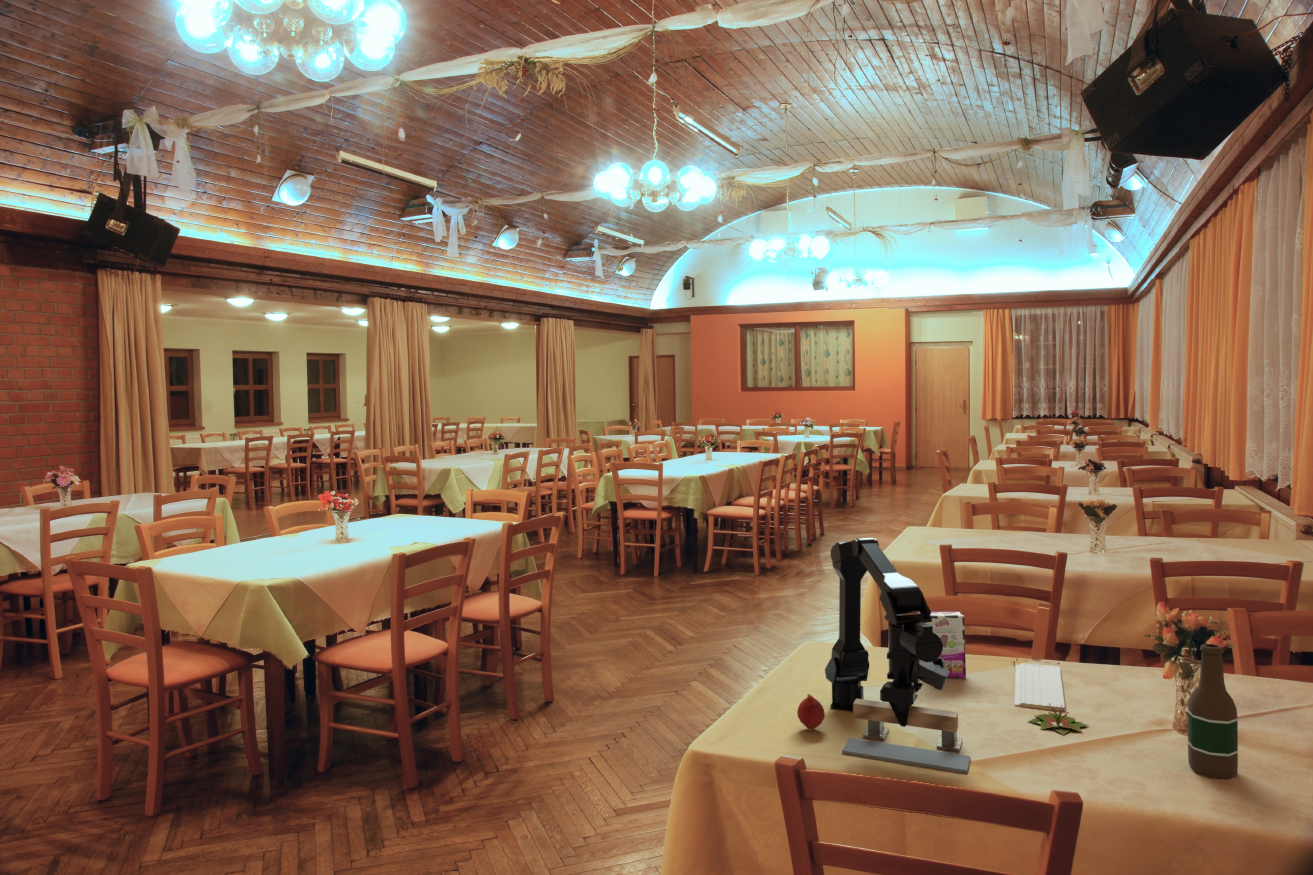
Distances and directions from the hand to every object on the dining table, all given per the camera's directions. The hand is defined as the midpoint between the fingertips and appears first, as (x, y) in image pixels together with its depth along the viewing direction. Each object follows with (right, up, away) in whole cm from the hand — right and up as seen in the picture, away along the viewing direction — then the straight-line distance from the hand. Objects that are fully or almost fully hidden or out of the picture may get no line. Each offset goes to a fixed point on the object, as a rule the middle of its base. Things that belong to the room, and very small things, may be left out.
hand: (904, 723), depth 162 cm
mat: (0, -7, 0) cm, 7 cm away
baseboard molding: (+44, -5, +37) cm, 58 cm away
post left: (-3, -6, +12) cm, 13 cm away
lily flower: (+38, -6, +14) cm, 41 cm away
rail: (0, 0, 0) cm, 0 cm away
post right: (+11, -6, +5) cm, 13 cm away
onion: (-16, -7, +15) cm, 23 cm away
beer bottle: (+55, -6, -10) cm, 56 cm away
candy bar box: (+24, -5, +47) cm, 53 cm away
